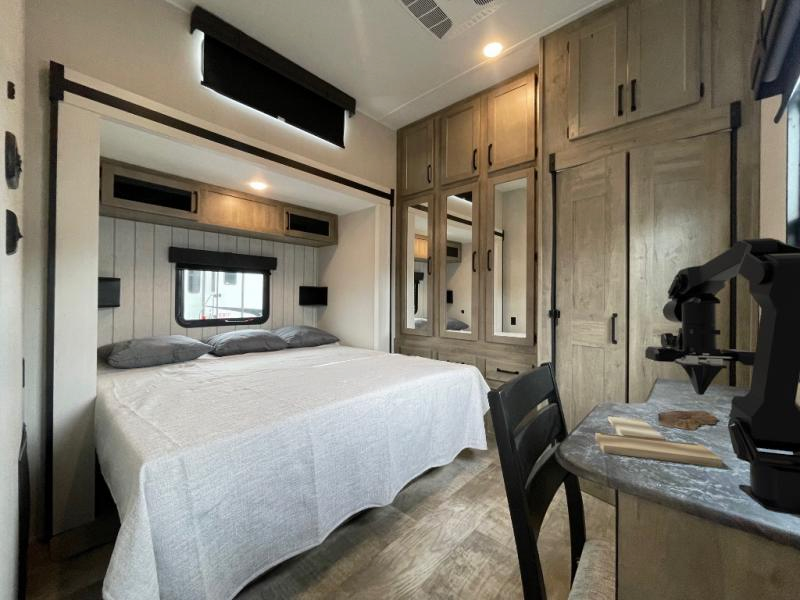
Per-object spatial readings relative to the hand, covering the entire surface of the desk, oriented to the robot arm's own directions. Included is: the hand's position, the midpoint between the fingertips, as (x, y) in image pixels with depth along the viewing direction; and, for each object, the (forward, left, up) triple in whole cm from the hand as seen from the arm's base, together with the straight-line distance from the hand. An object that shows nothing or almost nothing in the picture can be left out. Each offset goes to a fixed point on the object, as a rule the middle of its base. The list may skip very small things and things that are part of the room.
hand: (699, 394), depth 73 cm
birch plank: (+4, +11, -11) cm, 17 cm away
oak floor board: (-7, +11, -12) cm, 18 cm away
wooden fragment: (+20, -6, -12) cm, 24 cm away
